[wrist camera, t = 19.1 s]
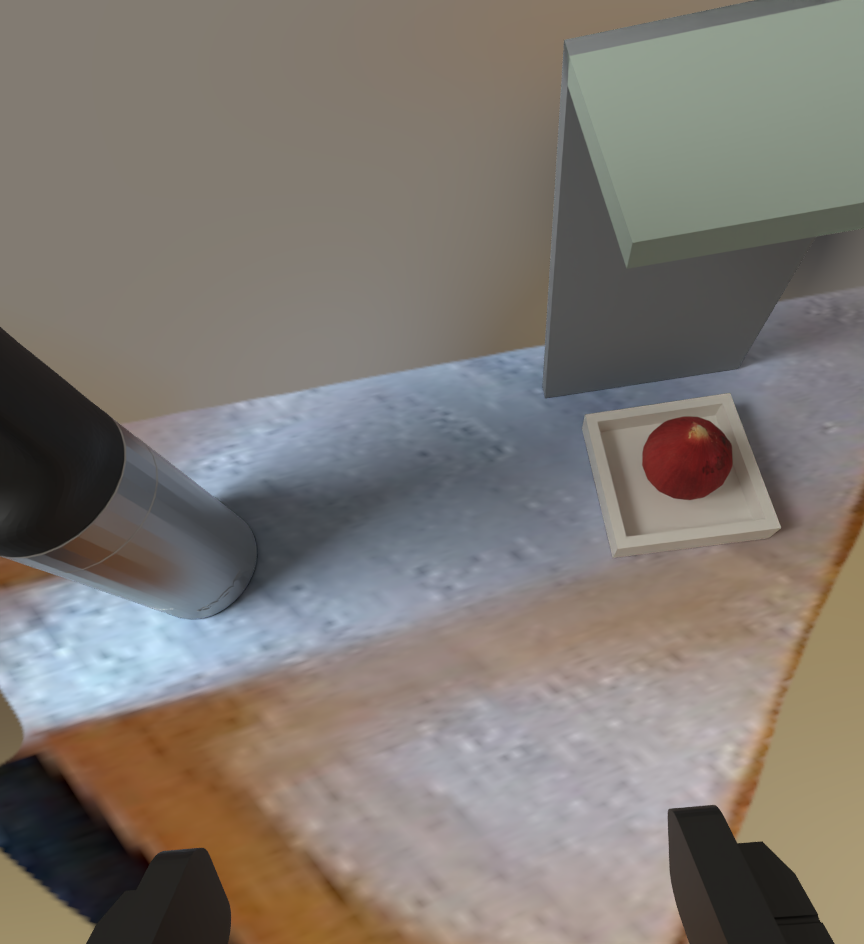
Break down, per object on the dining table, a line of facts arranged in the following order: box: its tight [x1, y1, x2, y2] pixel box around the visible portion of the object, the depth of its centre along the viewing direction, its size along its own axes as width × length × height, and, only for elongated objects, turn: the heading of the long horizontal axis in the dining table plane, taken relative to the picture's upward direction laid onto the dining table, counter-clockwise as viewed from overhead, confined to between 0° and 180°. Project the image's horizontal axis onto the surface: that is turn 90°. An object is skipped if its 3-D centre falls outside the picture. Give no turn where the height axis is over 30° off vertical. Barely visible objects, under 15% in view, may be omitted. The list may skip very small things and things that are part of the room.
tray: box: [582, 393, 781, 558], centre depth 43 cm, size 11×11×2 cm
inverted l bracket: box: [543, 0, 864, 398], centre depth 33 cm, size 12×16×27 cm
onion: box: [642, 416, 733, 500], centre depth 40 cm, size 6×6×8 cm
